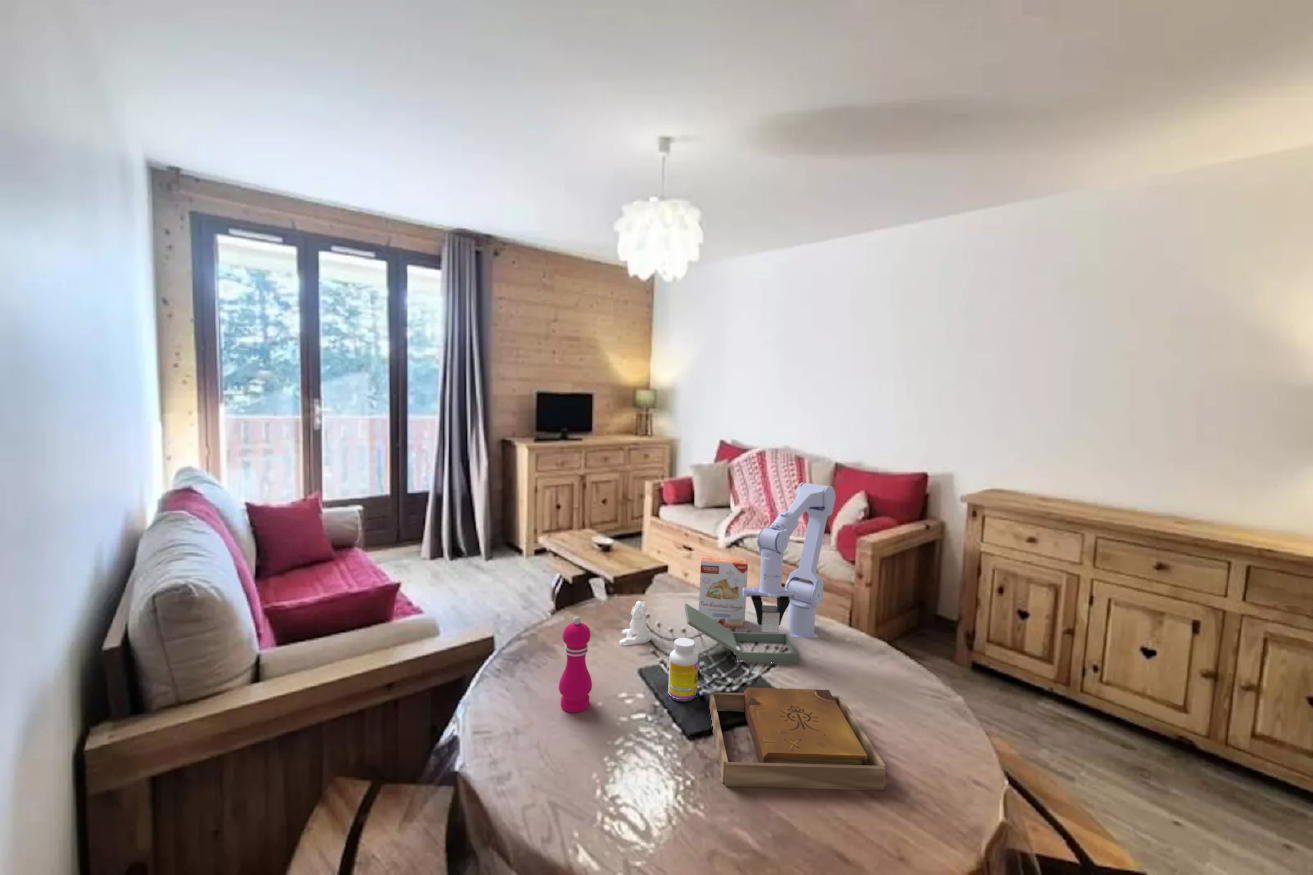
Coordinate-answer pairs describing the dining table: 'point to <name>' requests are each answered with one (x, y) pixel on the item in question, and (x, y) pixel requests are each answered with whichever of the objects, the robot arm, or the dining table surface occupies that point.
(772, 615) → the block
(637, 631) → the white creature statuette
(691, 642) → the supplement bottle
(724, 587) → the cracker box
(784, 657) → the case
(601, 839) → the dining table surface
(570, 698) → the pepper mill
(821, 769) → the desk tray
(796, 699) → the diary
